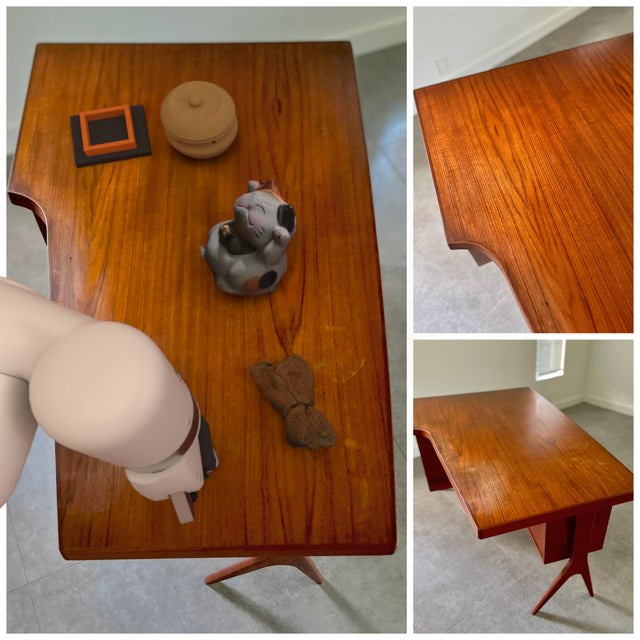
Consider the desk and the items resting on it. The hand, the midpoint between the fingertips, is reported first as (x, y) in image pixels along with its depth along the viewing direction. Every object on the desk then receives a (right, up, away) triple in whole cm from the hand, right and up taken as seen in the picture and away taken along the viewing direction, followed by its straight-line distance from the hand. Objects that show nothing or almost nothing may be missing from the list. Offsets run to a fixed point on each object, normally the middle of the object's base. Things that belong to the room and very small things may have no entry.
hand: (189, 451), depth 57 cm
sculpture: (+10, +2, +17) cm, 20 cm away
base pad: (-21, +45, +32) cm, 59 cm away
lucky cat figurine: (+3, +24, +25) cm, 35 cm away
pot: (-5, +44, +33) cm, 55 cm away
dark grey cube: (0, 0, +1) cm, 1 cm away
